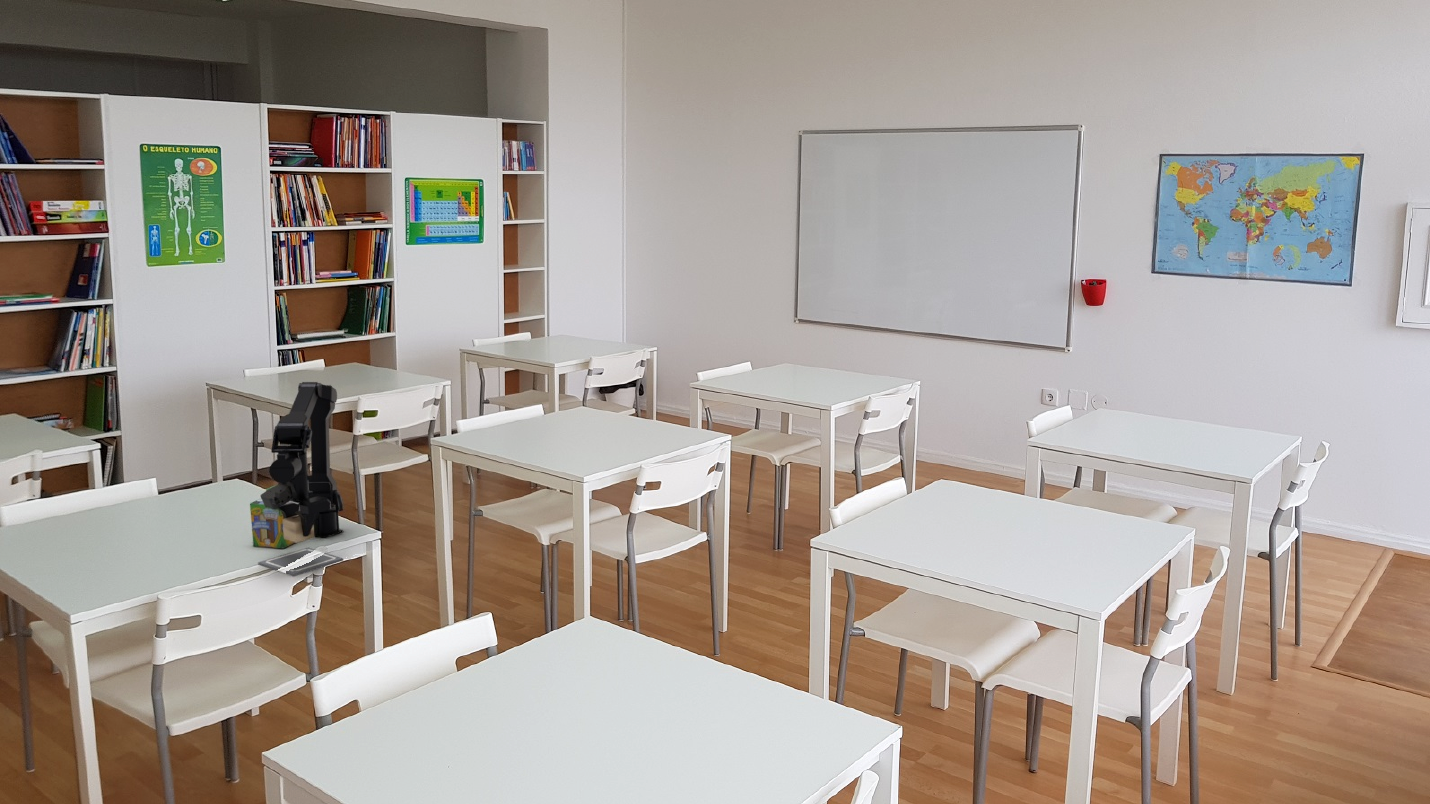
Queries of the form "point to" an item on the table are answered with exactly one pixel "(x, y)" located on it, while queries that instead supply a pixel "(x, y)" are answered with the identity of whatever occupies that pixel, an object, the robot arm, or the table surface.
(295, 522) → the letter cube
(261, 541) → the chalk box
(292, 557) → the slate pad
